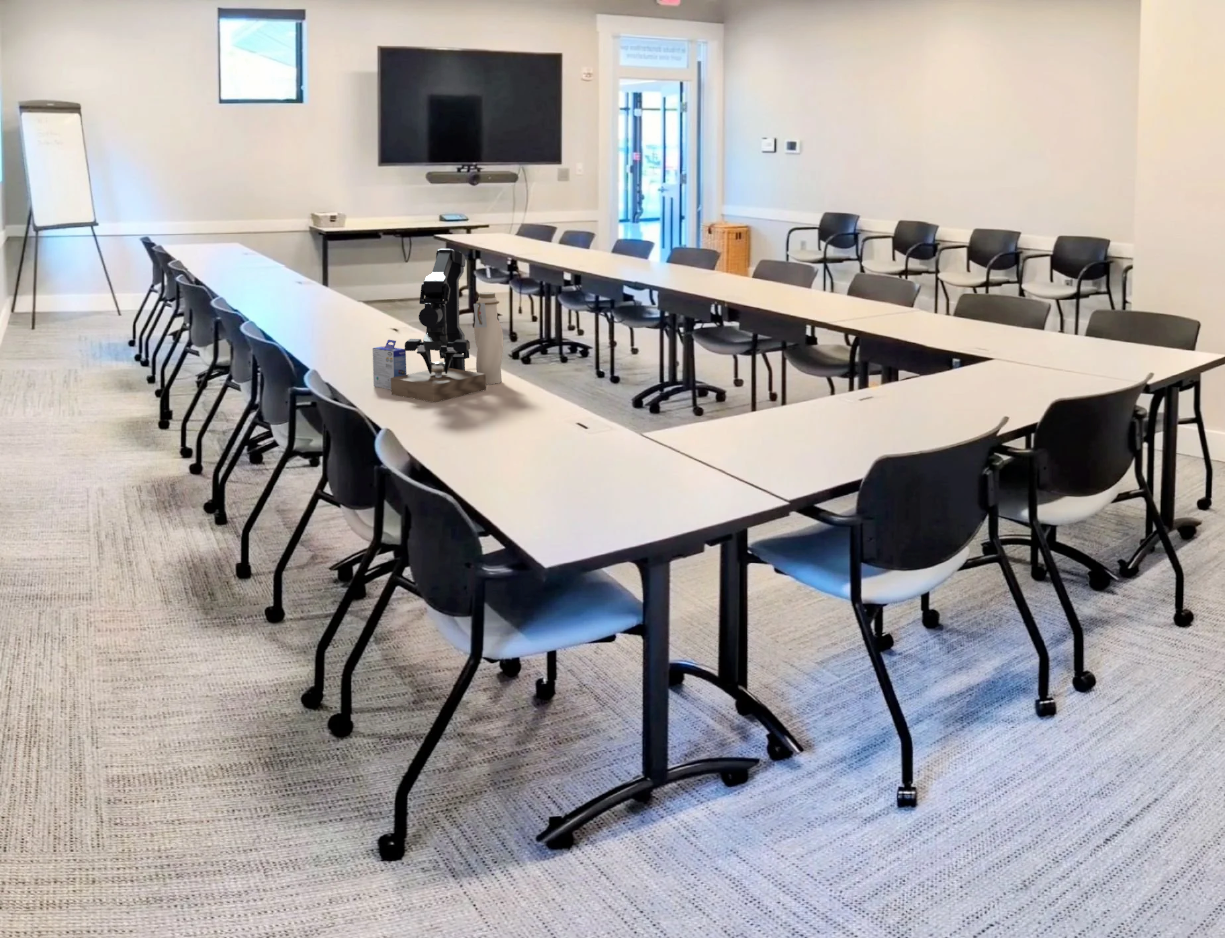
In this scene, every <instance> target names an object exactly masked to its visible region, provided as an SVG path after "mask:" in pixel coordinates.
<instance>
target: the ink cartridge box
mask: <svg viewBox="0 0 1225 938" xmlns="http://www.w3.org/2000/svg"><path fill="white" fill-rule="evenodd" d="M389 343H392V344H389ZM396 343H397V340H393V339H388V340H387V341H386V344H385V346H377V347H373V348H372V373H373V374H372V375H373V379H372V380H373V387H375V388H376V387H377V388H383V389H386V390H391V378H393V377H398V376H403V375H407V353H406V352H407V351H405V348H401V347H395V345H396Z"/></svg>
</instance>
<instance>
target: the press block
mask: <svg viewBox="0 0 1225 938" xmlns="http://www.w3.org/2000/svg"><path fill="white" fill-rule="evenodd" d="M486 385H487V384H486V374H483V373H477V371H469V370H466V369H465V370H459V369H452V368H449V369H448V373H447V374H445V372H442V377H440V378H437V377H435V373H434V372H432V373H431V374H430V373H429V371H428V369H427V370H422V371H417V372H414V373H413V372H412V373H409V374H407V373H406V375H403V376H398V377H393V378H391V389H390V391H391V392H390V393H391V395H392V396H393V395H394V396H398V397H403V396H404V398H410V399H413V398H415V399H414V400H420V401H424V400H425V401H426V402H430V403H438V402H442V401H445V400H450V399H455V398H458V397H462V396H463V397H464V396H466V395H470V394H476V393H479V392H483V390H484V391H487V386H486ZM441 400H442V401H441Z"/></svg>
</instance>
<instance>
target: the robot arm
mask: <svg viewBox="0 0 1225 938" xmlns="http://www.w3.org/2000/svg"><path fill="white" fill-rule="evenodd" d="M466 261H467V260H466V256H465V254H464V253H462V252H461V251H456V250H454V249H452V248H439V249H437V250H436V253H435V261H434V265H433V267H432V271H431V274H428V275H426V276H425V278H424V279H423V283H421V285H420V286H421V288H420V295H419V305H424V308H422V309H421V310H420V311H419V314H418V320H419V323H420V324H421V325H422V326H424V327H426V332H425V335H424V337H423V341H422V338H409V339H408V340H406V341H405V342H404V349H405V351H406V352H415V351H416V350H417V351H416V354H418V355H420V356H421V358H423V361H424V364H425V365H426V368H427V370H428V371H429V373H430V374H431V373H432V372H431V362H432V355H431V351H435V352H436V351H437V352H439V359H441V360H442V359H443V362H445V374H447V373H448V369H449V368H452V369H459V370H465V371H466V361H465V360H466V359H470V349H471V343H470V341H469V339H465V333H464V331H463V330H462V328H461V327H460V285H459V284H460V279H461V277H462V276H463V274H464V271H465V270H464V269H465V267H466Z"/></svg>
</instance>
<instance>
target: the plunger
mask: <svg viewBox="0 0 1225 938" xmlns="http://www.w3.org/2000/svg"><path fill="white" fill-rule="evenodd" d="M431 372H434V373H435V377H437V378H440V377H442V372H445V362H444V361H440V360H439V361H438V360H437V361H431Z"/></svg>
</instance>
